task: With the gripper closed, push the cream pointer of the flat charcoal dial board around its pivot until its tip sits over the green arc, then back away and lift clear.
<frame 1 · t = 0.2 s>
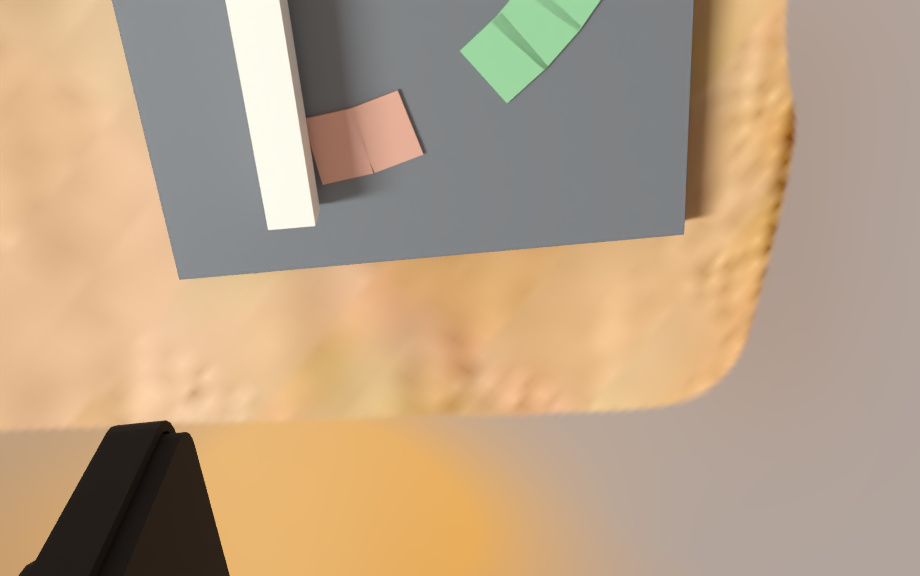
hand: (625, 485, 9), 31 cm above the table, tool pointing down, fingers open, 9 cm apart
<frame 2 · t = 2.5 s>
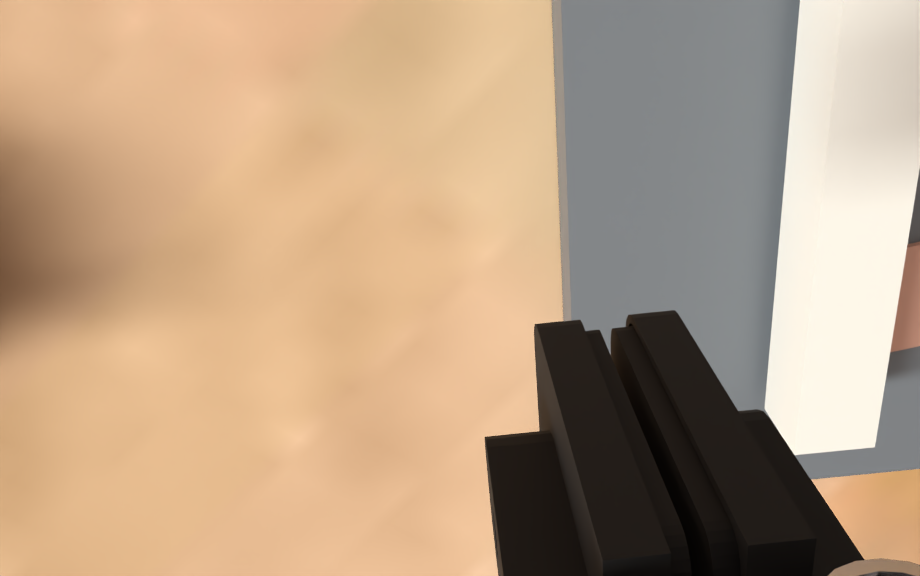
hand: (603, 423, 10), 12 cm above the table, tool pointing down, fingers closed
pointer: (870, 27, 17), point 3 cm above the table, hinge at 0.0°
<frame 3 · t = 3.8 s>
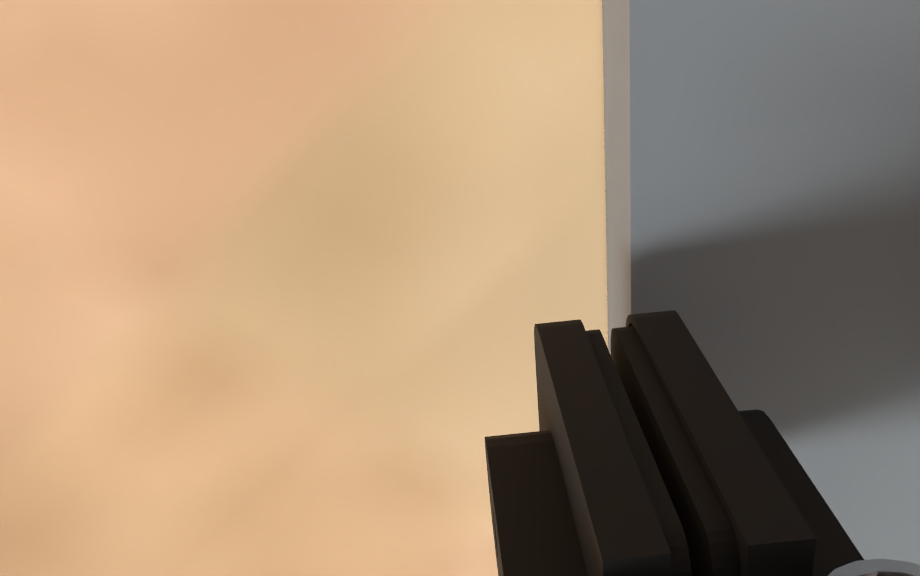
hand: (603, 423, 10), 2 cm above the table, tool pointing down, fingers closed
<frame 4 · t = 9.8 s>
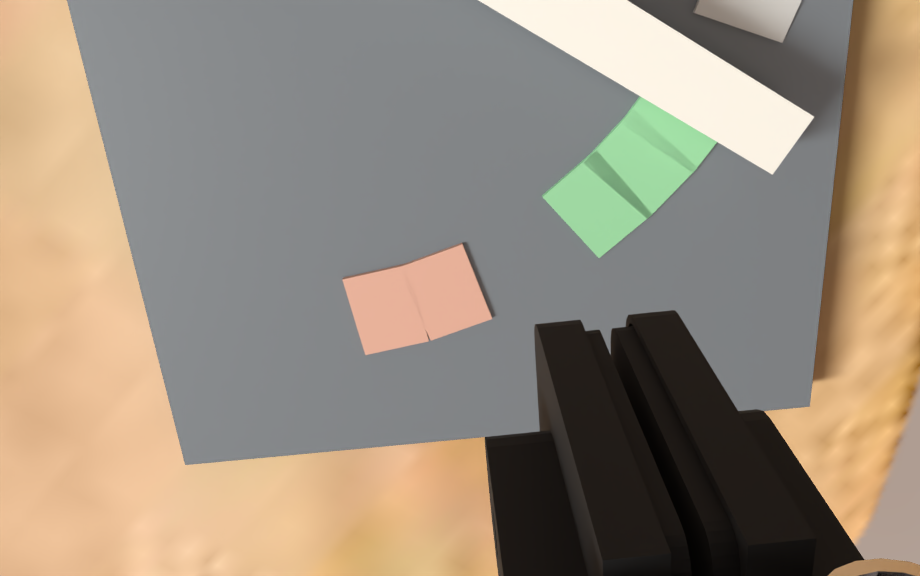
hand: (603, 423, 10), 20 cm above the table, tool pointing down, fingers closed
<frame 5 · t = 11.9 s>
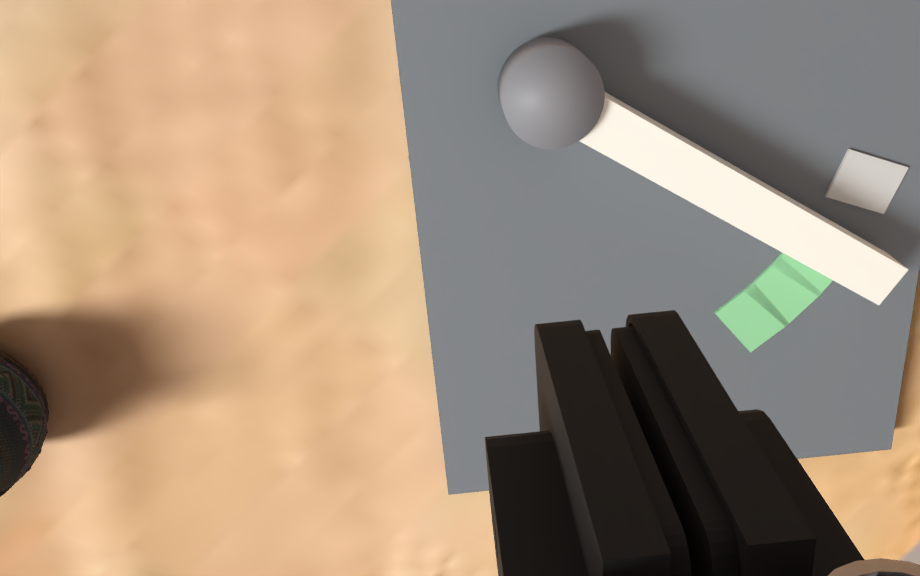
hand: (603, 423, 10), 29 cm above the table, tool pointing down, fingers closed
pointer: (708, 181, 37), point 3 cm above the table, hinge at 56.1°
dial board: (539, 76, 38), on the table
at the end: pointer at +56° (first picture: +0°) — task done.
